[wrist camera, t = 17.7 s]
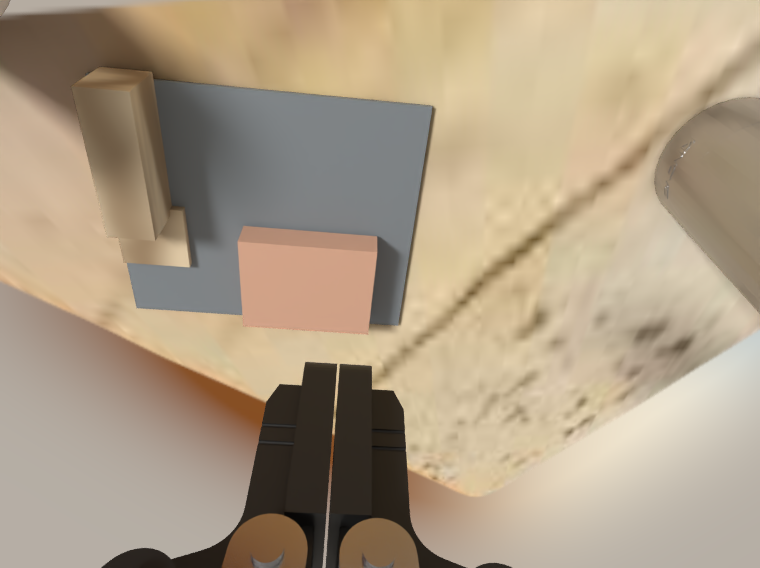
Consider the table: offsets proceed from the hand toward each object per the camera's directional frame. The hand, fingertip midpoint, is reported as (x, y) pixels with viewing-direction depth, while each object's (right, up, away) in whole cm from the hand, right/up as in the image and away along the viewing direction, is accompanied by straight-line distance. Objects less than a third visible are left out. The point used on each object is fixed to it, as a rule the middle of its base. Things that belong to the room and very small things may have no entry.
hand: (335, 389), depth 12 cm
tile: (-10, +3, +29) cm, 31 cm away
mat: (-7, +7, +28) cm, 30 cm away
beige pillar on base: (-16, +10, +26) cm, 32 cm away
